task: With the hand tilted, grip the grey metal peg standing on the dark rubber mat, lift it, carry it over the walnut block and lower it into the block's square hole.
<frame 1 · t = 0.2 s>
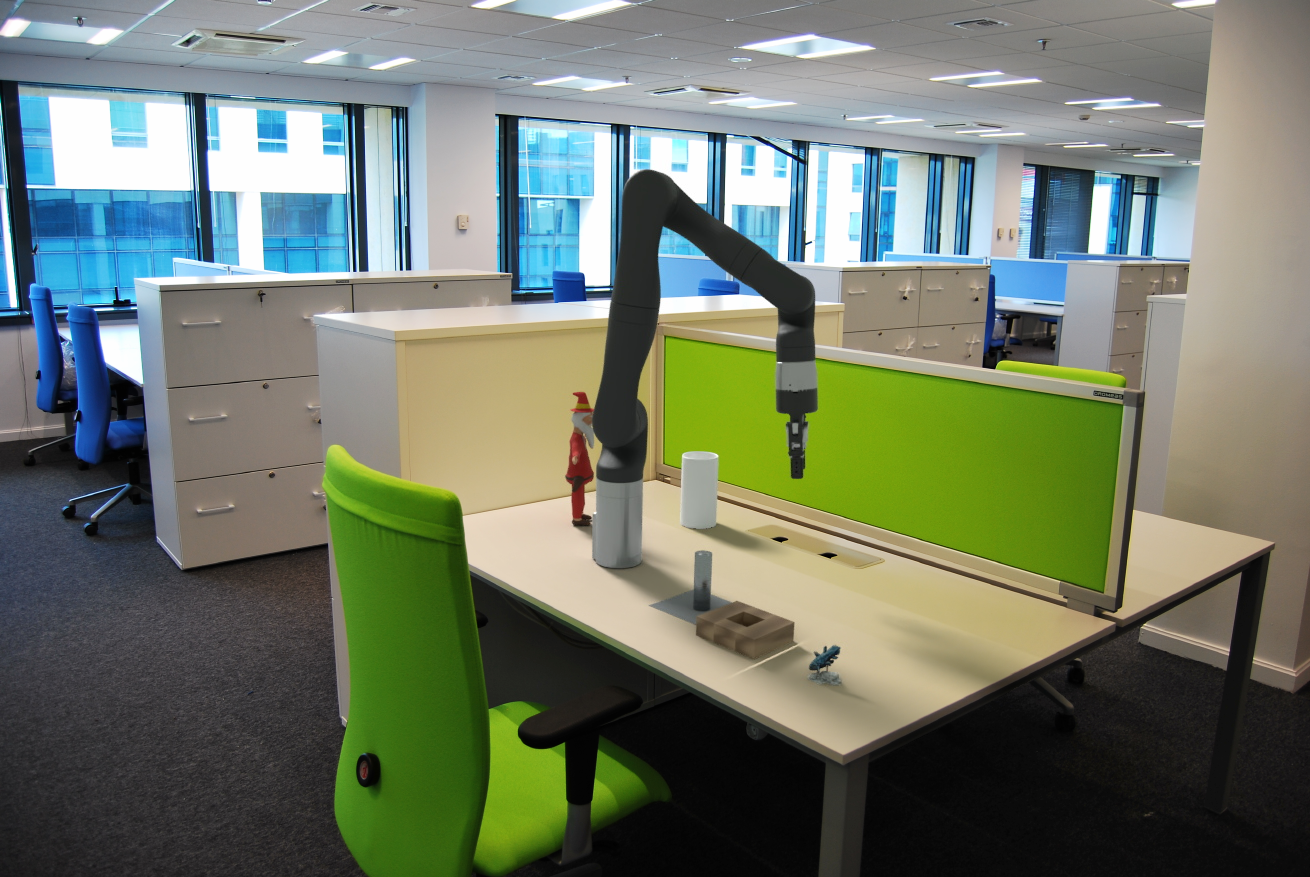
hand: (798, 474, 169), 21 cm above the table, tool pointing down, fingers open, 8 cm apart
peg: (701, 608, 159), resting on mat
mat: (701, 609, 159), on the table
hole block: (744, 639, 148), on the table
figurine: (579, 523, 208), on the table
cup: (698, 524, 209), on the table
sculpture: (824, 684, 135), on the table
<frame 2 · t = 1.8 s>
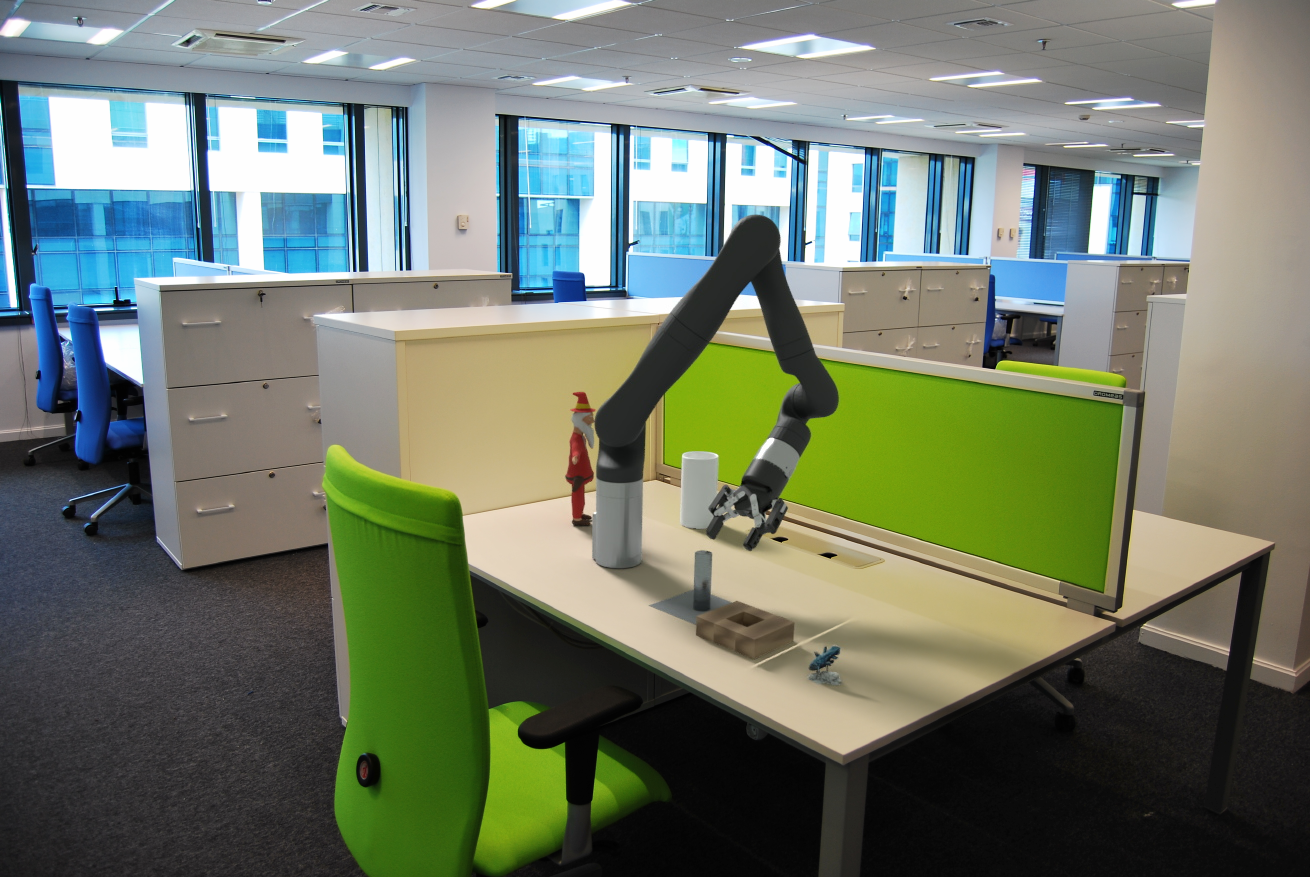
hand: (727, 542, 162), 11 cm above the table, tool tilted 45°, fingers open, 8 cm apart
nothing on the table moved.
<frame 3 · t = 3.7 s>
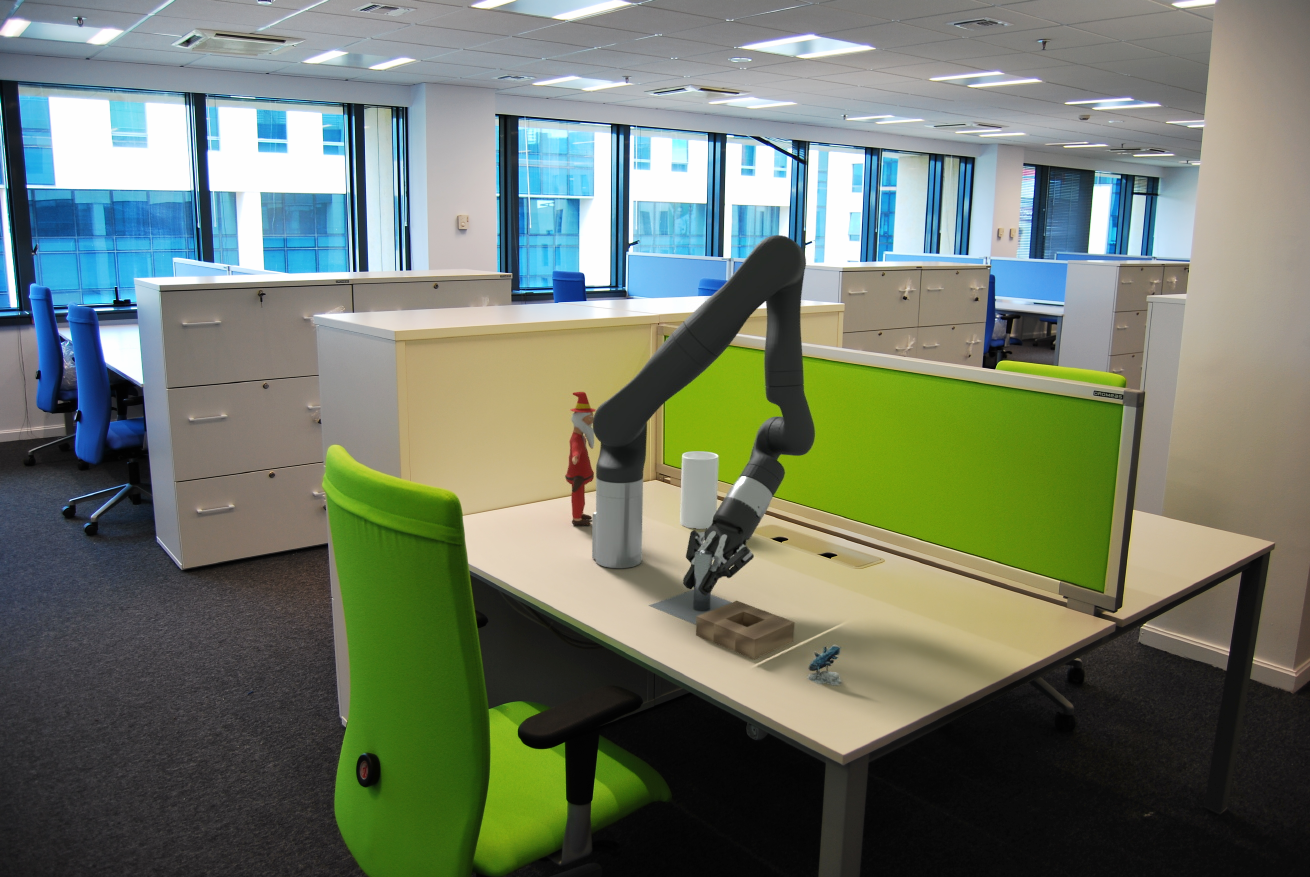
hand: (694, 589, 157), 4 cm above the table, tool tilted 45°, fingers closed on peg, 3 cm apart
peg: (701, 608, 159), resting on mat, touching gripper
everything else where it was.
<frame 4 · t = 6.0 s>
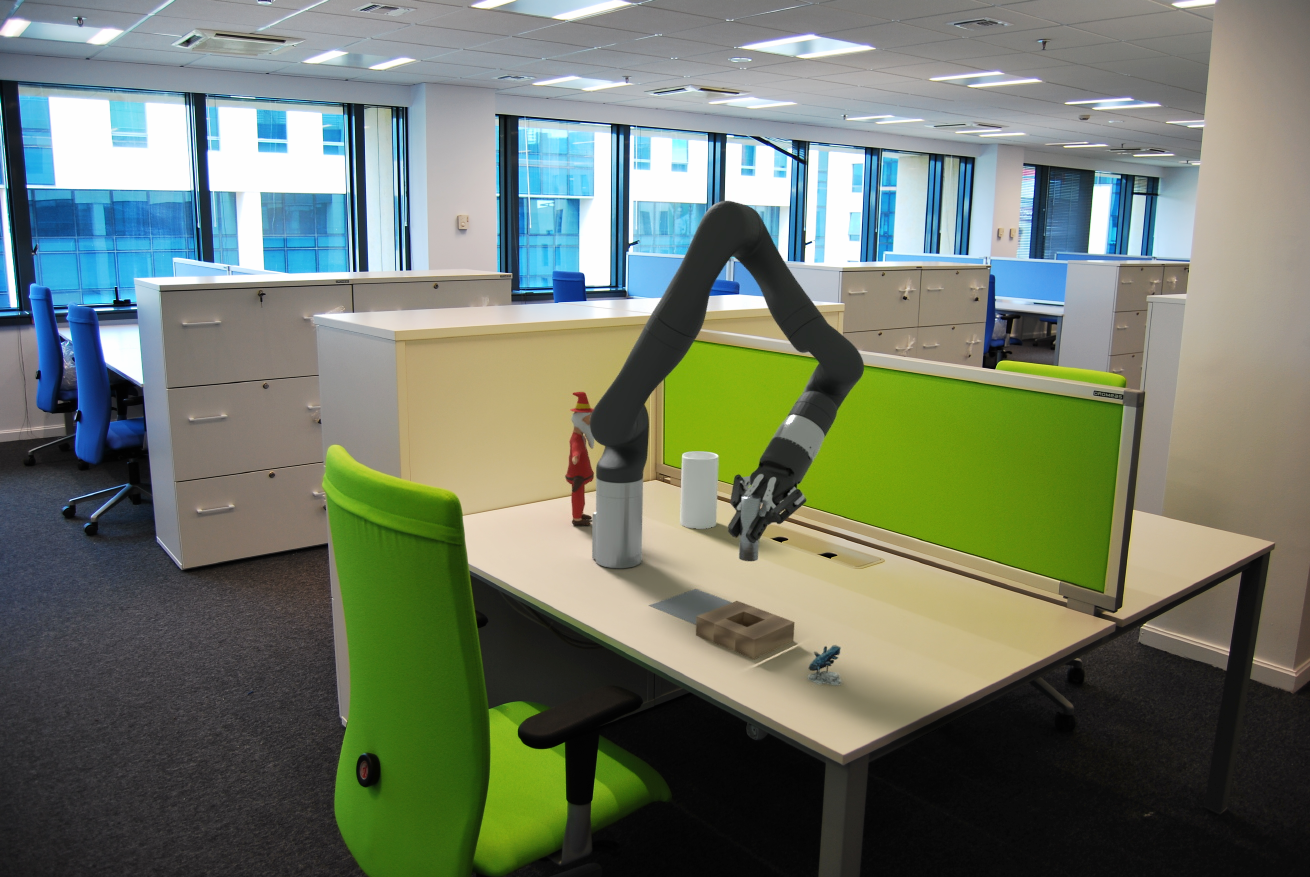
hand: (741, 536, 143), 18 cm above the table, tool tilted 45°, fingers closed on peg, 3 cm apart
peg: (748, 558, 145), point 14 cm above the table, touching gripper
everything else where it was.
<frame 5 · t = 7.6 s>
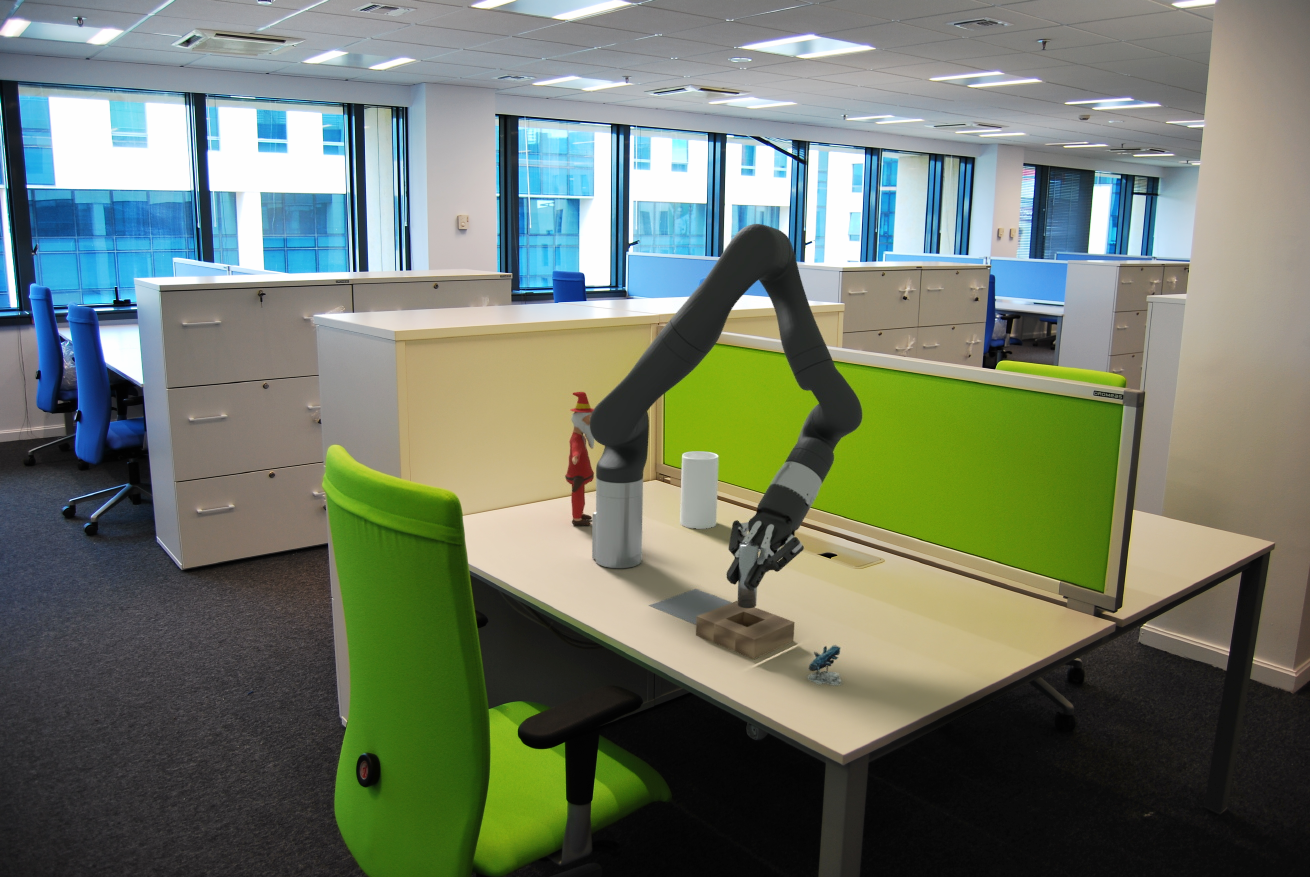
hand: (739, 584, 144), 10 cm above the table, tool tilted 45°, fingers closed on peg, 3 cm apart
peg: (746, 604, 146), point 6 cm above the table, touching gripper
everything else where it was.
when the fingers open (7 cm above the table, at t = 8.7 s): peg drops 3 cm, resting in hole block.
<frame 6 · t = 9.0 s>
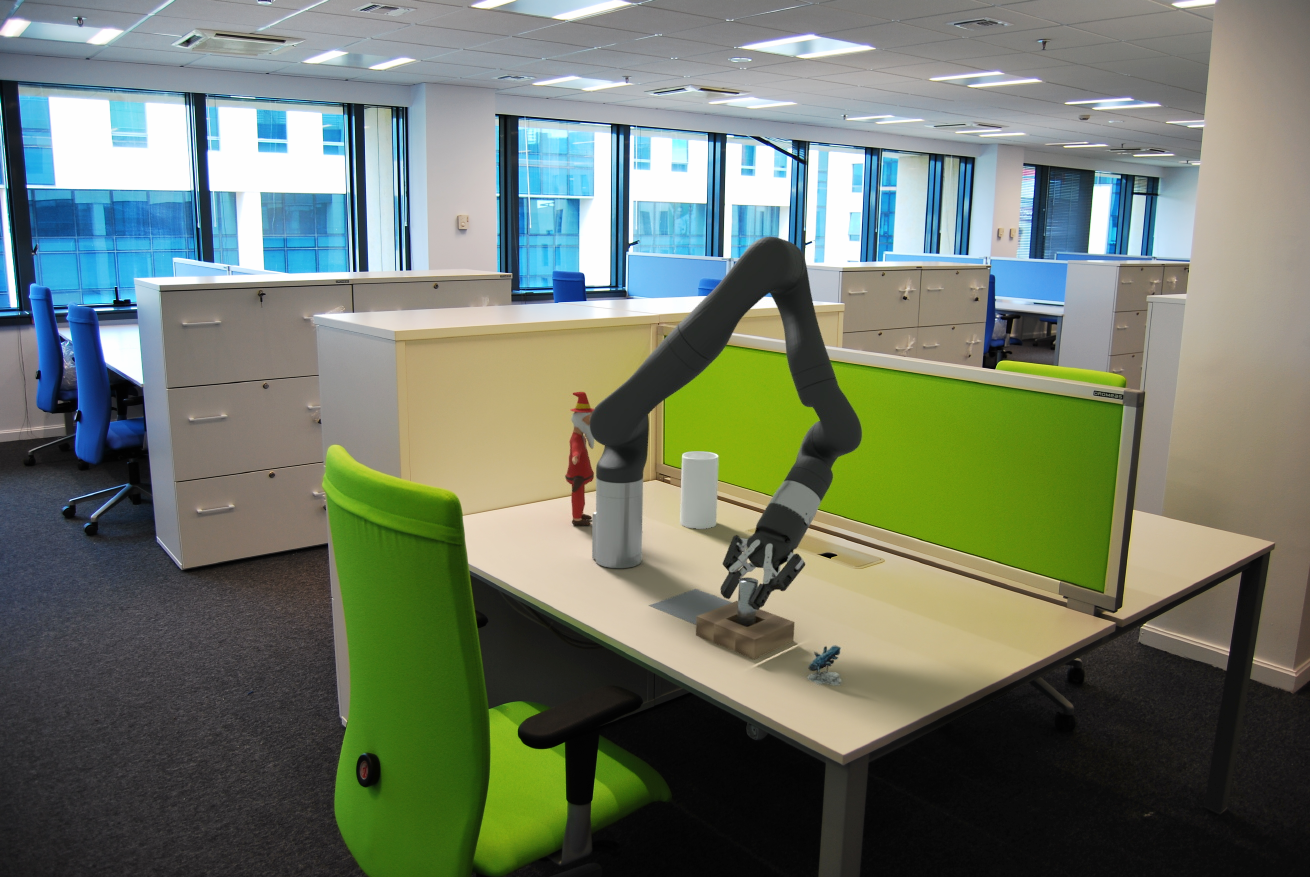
hand: (738, 601, 145), 7 cm above the table, tool tilted 45°, fingers open, 5 cm apart
peg: (745, 639, 148), resting in hole block
everything else where it was.
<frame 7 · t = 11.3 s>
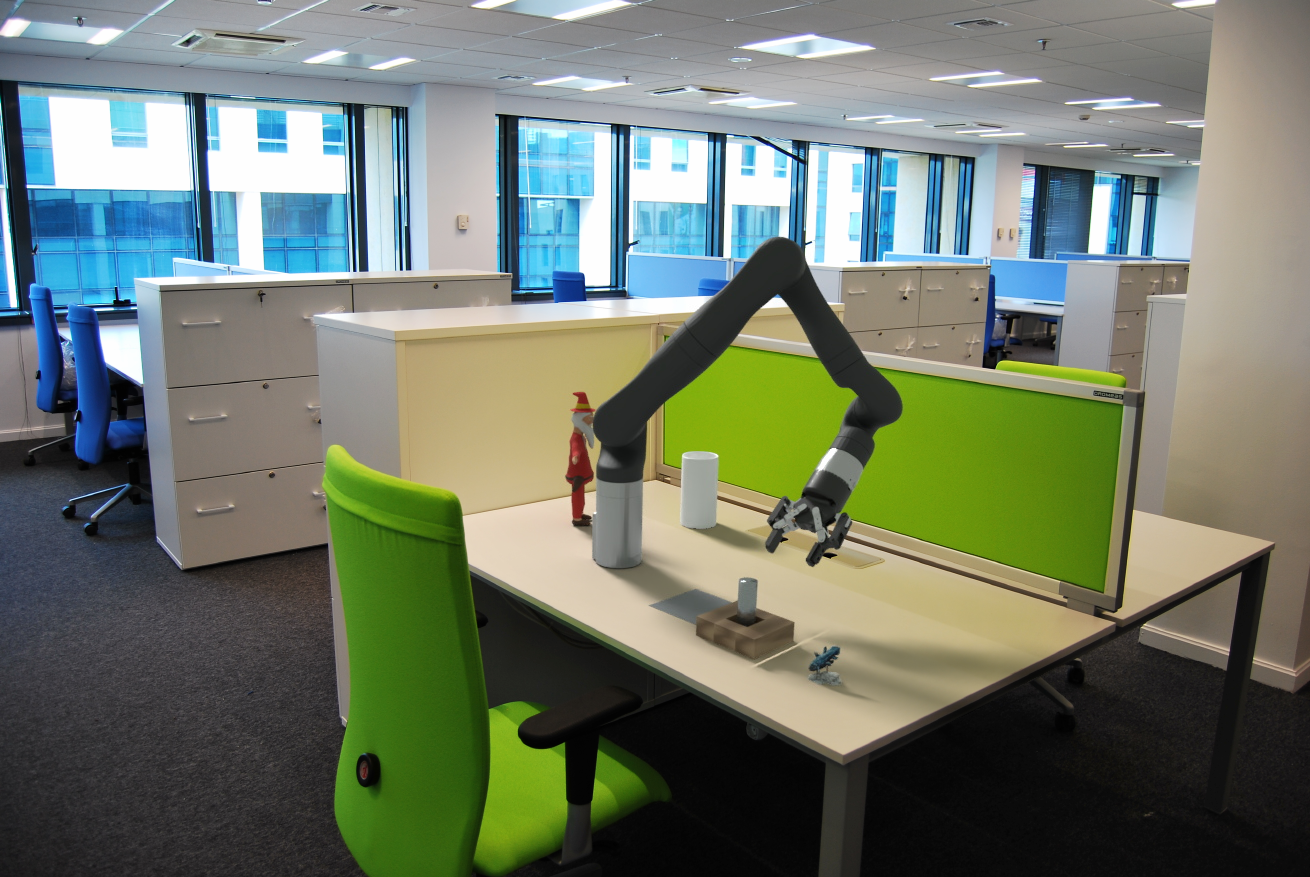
hand: (788, 557, 155), 11 cm above the table, tool tilted 45°, fingers open, 8 cm apart
nothing on the table moved.
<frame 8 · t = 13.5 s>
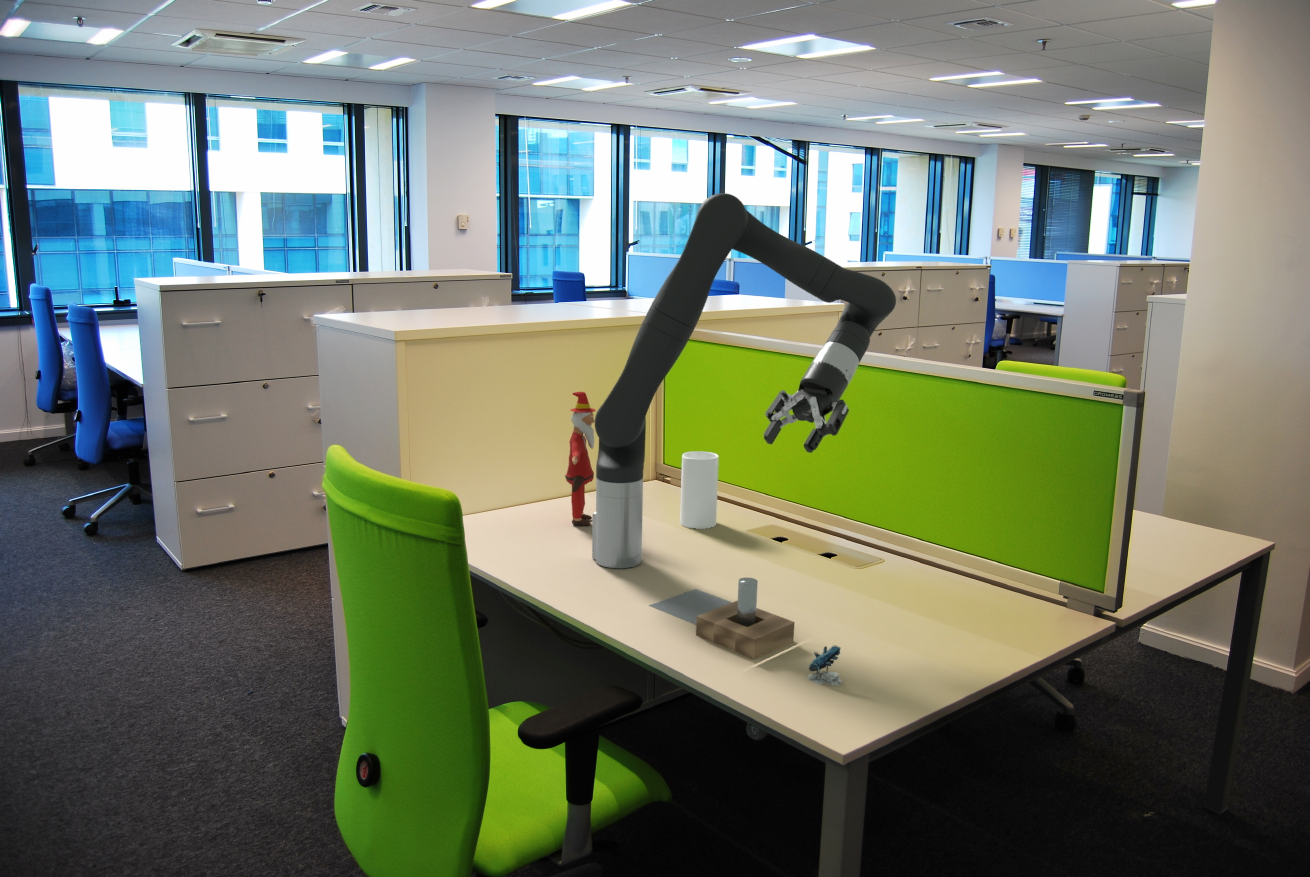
hand: (786, 445, 157), 29 cm above the table, tool tilted 45°, fingers open, 8 cm apart
nothing on the table moved.
at the end: peg 0.1 cm off-centre on the hole block, point 0.0 cm above the hole block's base; peg tilted 0°; the gripper is holding nothing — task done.
